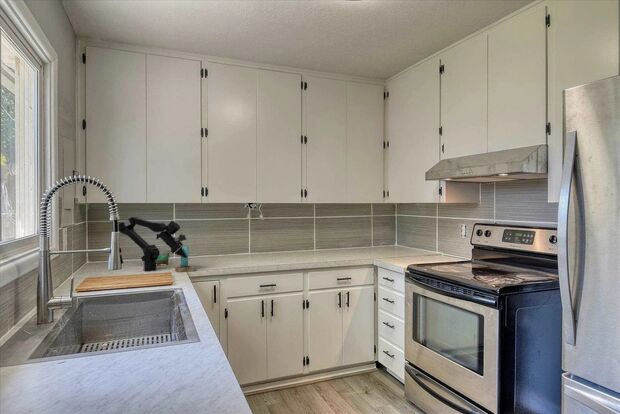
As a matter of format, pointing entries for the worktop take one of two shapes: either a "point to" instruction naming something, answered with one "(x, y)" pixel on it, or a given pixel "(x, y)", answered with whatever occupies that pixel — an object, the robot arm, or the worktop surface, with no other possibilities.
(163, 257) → the food container
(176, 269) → the socket plate
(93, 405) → the worktop surface
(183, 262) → the peg
